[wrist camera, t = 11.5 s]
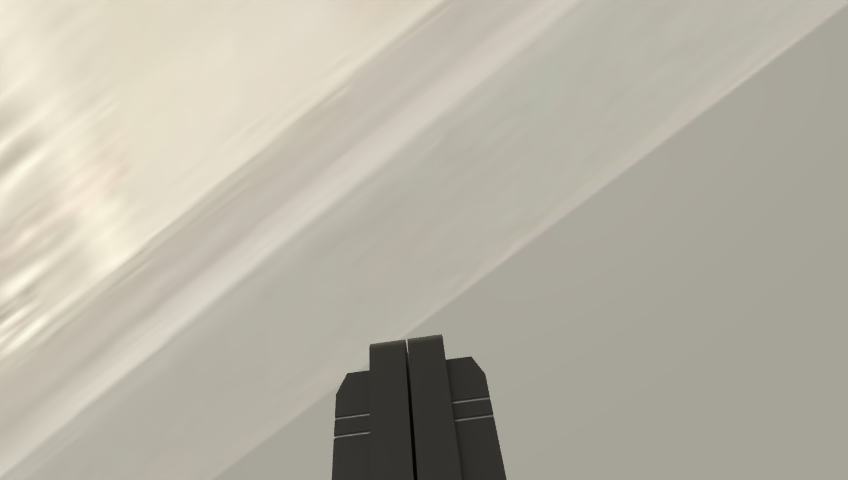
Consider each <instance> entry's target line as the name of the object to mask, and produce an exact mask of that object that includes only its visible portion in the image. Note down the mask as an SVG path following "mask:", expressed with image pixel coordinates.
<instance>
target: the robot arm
mask: <svg viewBox="0 0 848 480" xmlns="http://www.w3.org/2000/svg"><path fill="white" fill-rule="evenodd" d="M408 355H409V357H408ZM335 418H336V419H335V428H334V437H335V439H334V449H333V468H332V480H506V475H505V470H504V465H503V460H502V455H501V450H500V445H499V440H498V436H497V431H496V426H495V421H494V417H493V411H492V406H491V401H490V396H489V391H488V386H487V381H486V376H485V373H484V372H483V371H482V370H481V368H480V367H479V366H478V365H477V363H476V362H475V361H474V360H473V358H472V357H465V358H457V359H449V360H446V359H445V352H444V345H443V338H442V335H434V336H427V337H420V338H413V339H408V352H407V346H406V342H405V340H399V341H391V342H384V343H376V344H370V370H369V371H362V372H354V373H347V375H346V377H345V379H344V381H343V383H342V384H341V386H340V389H339V390H338V392H337V394H336V409H335Z"/></svg>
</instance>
